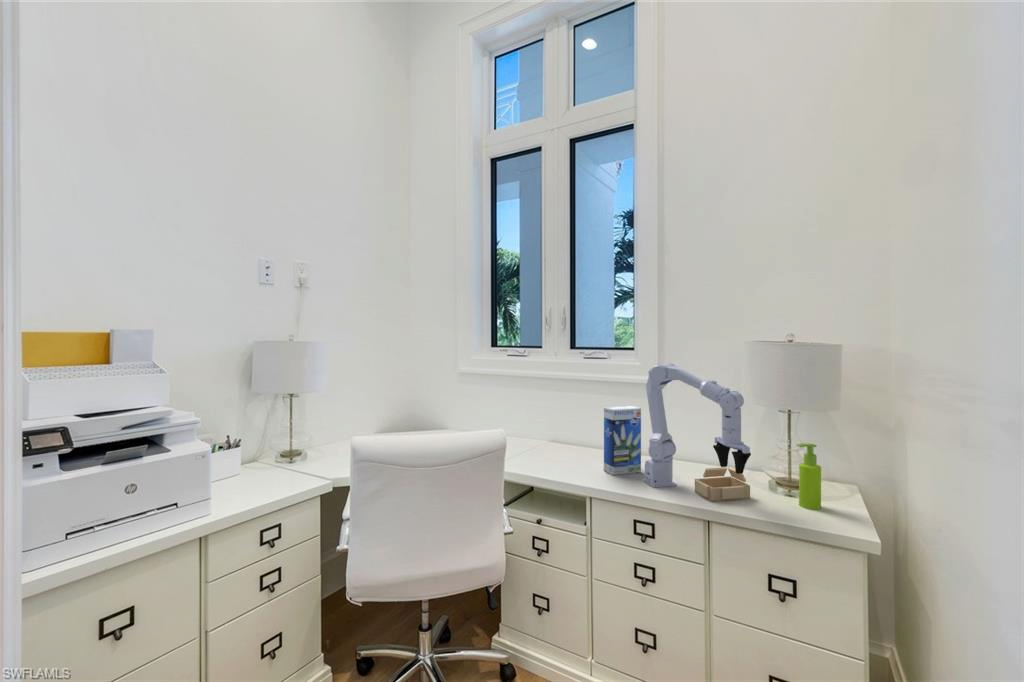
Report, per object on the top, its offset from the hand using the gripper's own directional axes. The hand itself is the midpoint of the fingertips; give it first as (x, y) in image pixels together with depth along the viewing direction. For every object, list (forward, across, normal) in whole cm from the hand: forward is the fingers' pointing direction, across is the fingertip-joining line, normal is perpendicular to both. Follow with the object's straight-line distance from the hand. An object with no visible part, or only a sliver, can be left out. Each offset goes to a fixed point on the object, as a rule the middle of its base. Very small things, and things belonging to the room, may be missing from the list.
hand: (731, 469), depth 151 cm
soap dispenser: (+11, -9, -21) cm, 25 cm away
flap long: (+5, +10, -1) cm, 12 cm away
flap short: (+5, +6, -7) cm, 11 cm away
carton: (+10, +6, -1) cm, 12 cm away
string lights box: (+10, +38, +20) cm, 45 cm away
